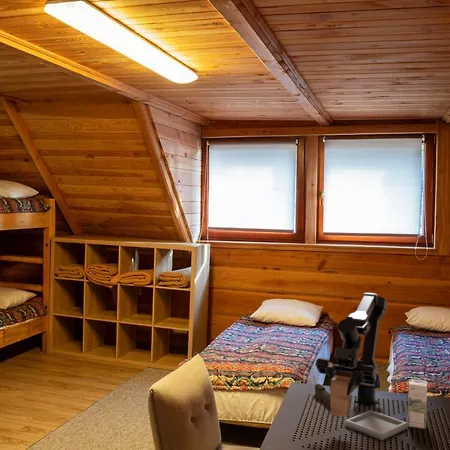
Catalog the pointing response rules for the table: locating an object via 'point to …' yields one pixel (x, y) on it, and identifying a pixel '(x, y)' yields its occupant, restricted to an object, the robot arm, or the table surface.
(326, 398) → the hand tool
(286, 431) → the table surface
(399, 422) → the tray
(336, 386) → the walnut block
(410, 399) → the syrup box
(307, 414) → the table surface
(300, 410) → the table surface
